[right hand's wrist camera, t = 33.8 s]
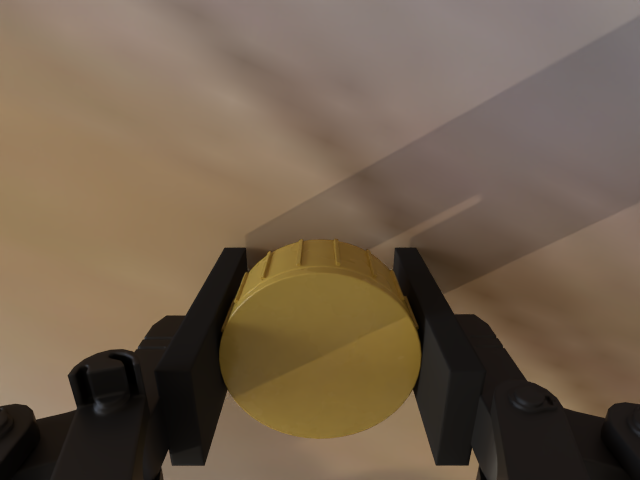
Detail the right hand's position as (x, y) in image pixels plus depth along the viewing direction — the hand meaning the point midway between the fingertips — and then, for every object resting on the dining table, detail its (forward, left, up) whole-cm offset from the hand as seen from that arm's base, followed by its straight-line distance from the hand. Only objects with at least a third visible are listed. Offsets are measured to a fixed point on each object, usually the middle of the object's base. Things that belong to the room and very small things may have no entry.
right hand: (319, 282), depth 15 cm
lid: (0, 0, +4) cm, 4 cm away
